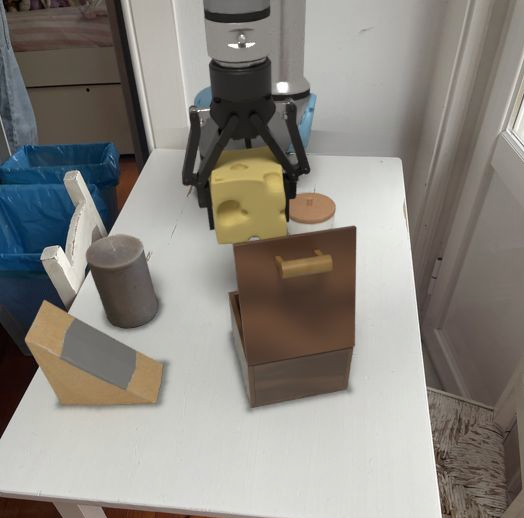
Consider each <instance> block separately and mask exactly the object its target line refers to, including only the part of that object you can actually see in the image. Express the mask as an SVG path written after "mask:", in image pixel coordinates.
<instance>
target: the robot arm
mask: <svg viewBox="0 0 524 518" xmlns="http://www.w3.org/2000/svg"><path fill="white" fill-rule="evenodd" d="M202 6H203V20H204V30H205V42H206V51H207V56H208V57H209V58H210V59H211V60H210V61H209V63H208V72H209V82H210V85H209V86H206V87H204V88H203V89H201V90H199V92H198V93H197V94H196V95H195V97H194V100H193V104H192V105H190V106H188V116H189V117H188V119H189V123H190V127H189V131H188V137H187V141H186V148H185V153H184V159H183V164H182V169H181V170H182V171H181V182H182V185H183V186H185V187H189V186H192V187H194V188H195V190H196V196H197V204H198V206H199V208H200V209H206V211H207V218H208V226H209V231H215V224H214V212H213V205H212V200H211V191H210V184H209V177H210V175H211V173H212V171H213V169H214V167H215V165H216V163H217V161H218V159H219V157H220V155H221V153H222V151H228V150H243V149H252V148H258V147H264V146H268V147H269V149H270V150H271V152H272V153H273V154H274V156H275V157H276V159H277V160H278V162H279V163H280V165H281V167H282V170H283V171H284V172H282V176H283V186H284V192H285V198H286V206H285V217H286V222H289V201H290V199H295V198H296V195H297V194H298V193H297V192H298V190H297V188H298V187H297V186H298V181H299V177H300V176H302V175H309V174H310V173H311V166H310V162H309V160H308V156H307V154H306V149H307V148H308V146H309V143H310V136H311V131H312V126H313V119H314V113H315V107H316V103H317V96H318V95H316V94H314V93H313V92H311V83H310V81H308V79H307V78H306V76H305V75H304V74H305V73H304V71H305V41H306V39H305V38H306V11H307V9H306V8H307V0H202ZM198 152H199V160H200V161H199V165H198V169H197V171H196V172H194V170H195V165H196V160H197V155H198ZM292 152H294V154H295V157H296V160H297V162H296V163H294V164H293V162H292V161H291V159H290V157H289V156H288V155H289V154H290V153H292Z"/></svg>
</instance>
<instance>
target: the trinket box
mask: <svg viewBox="0 0 524 518" xmlns="http://www.w3.org/2000/svg"><path fill="white" fill-rule="evenodd" d="M336 209H337V207H336V202H335V201H334V200H333V199H332V198H331V197H329V196H327V195H325V194H323V193H319V192H301V193H297V195H296V198H295V199H290V201H289V222H287V233H288V235H294V234H300V233H307V232H314V231H320V230H327V229H333V225H334V221H335V215H336V214H335V213H336Z"/></svg>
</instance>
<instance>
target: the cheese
mask: <svg viewBox="0 0 524 518" xmlns="http://www.w3.org/2000/svg"><path fill="white" fill-rule="evenodd" d="M282 173H283V168H282V166H281V165H280V163H279V162H278V160H277V159H276V157H275V156H274V154H273V153H272V152H271V150H270V149H269V147H268V146H264V147H258V148H252V149H243V150H228V151H222V153H221V155H220V157H219V159H218V161H217V163H216V165H215V167H214V169H213V171H212V173H211V175H210V177H209V184H210V191H211V200H212V209H213V218H214V226H215V230H214V231H215V235H216V241H217V244H218V245H229V244H234V243H240V242H247V241H251V239H253V238H256V239H258V240H260V239H267V238H274V237H280V236H287V233H288V230H287V222H286V217H285V206H286V198H285V192H284V186H283V176H282Z"/></svg>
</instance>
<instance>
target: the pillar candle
mask: <svg viewBox="0 0 524 518" xmlns="http://www.w3.org/2000/svg"><path fill="white" fill-rule="evenodd" d="M85 259H86V262H87V265H88V268H89V271H90V274H91V277H92V280H93V282H94V286H95V288H96V291H97V293H98V295H99V299H100V302H101V305H102V308H103V310H104V312H105V315H106V320H107V321H108V322H109V323H110V325H112V326H114V327H117V328H120V329H121V328H123V329H131V328H132V329H133V328H137V327H140V326H144V325H145V324H147V323H149V322H150V321H151V320H152V319H153V318H154V317H155V316H156V315H157V313H158V309H159V305H158V300H157V296H156V292H155V288H154V284H153V280H152V276H151V272H150V268H149V264H148V260H147V257H146V253H145V247H144V244H143V242H142V240H141V239H140V238H137V237H135V236H133V235H128V234H123V233H117V234H112V235H107V236H104V237H102V238H99V239H97V240H95V241H93V242H92V243H91V244H90V245H89V246H88V247H87V249H86V251H85Z"/></svg>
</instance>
